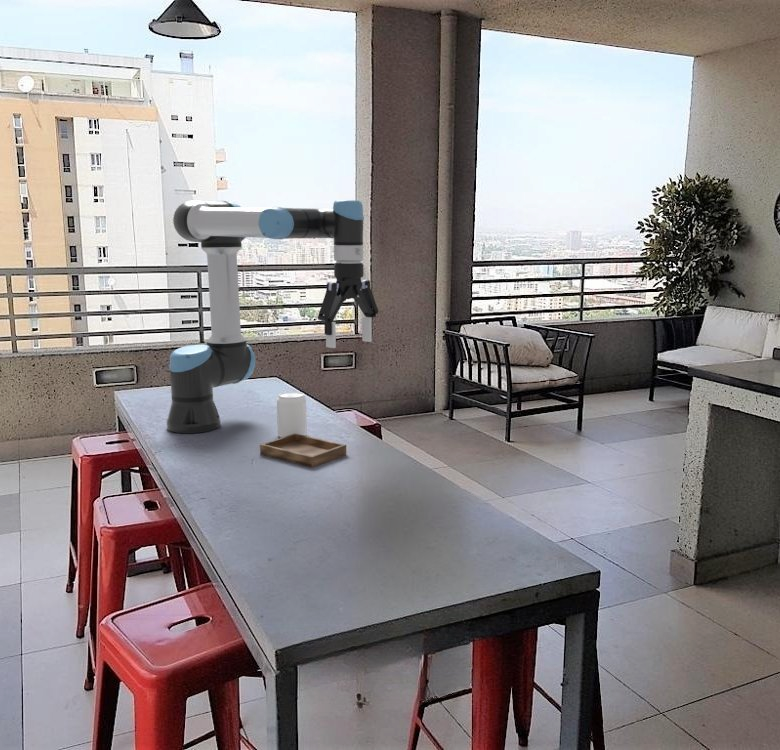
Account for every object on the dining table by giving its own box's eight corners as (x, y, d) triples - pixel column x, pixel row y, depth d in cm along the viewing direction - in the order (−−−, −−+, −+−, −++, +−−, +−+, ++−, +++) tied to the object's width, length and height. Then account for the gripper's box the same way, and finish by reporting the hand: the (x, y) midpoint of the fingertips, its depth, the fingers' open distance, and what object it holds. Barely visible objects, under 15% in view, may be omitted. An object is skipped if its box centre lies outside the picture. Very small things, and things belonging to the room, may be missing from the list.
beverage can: (309, 432, 210) (308, 391, 208) (303, 440, 203) (302, 398, 200) (281, 432, 211) (280, 391, 209) (274, 440, 203) (273, 397, 201)
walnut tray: (260, 454, 191) (259, 444, 190) (295, 442, 201) (295, 433, 200) (312, 467, 180) (311, 457, 180) (346, 454, 190) (346, 444, 190)
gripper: (324, 264, 177) (325, 351, 182) (391, 261, 196) (391, 340, 200) (302, 263, 182) (304, 348, 186) (370, 260, 201) (370, 337, 205)
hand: (349, 344), depth 193 cm, fingers open, 13 cm apart
